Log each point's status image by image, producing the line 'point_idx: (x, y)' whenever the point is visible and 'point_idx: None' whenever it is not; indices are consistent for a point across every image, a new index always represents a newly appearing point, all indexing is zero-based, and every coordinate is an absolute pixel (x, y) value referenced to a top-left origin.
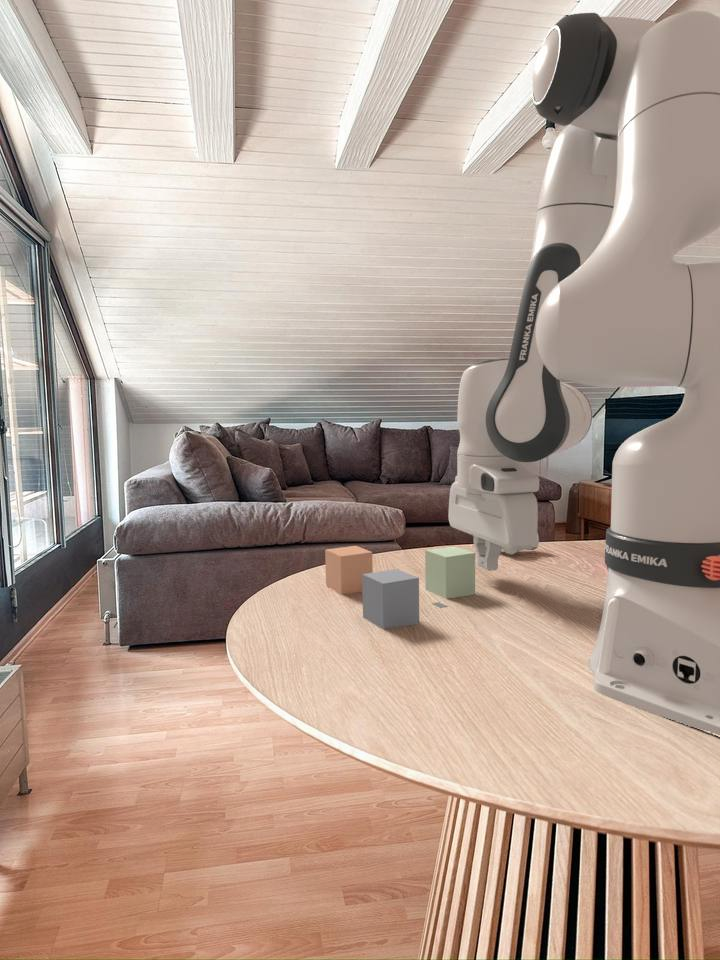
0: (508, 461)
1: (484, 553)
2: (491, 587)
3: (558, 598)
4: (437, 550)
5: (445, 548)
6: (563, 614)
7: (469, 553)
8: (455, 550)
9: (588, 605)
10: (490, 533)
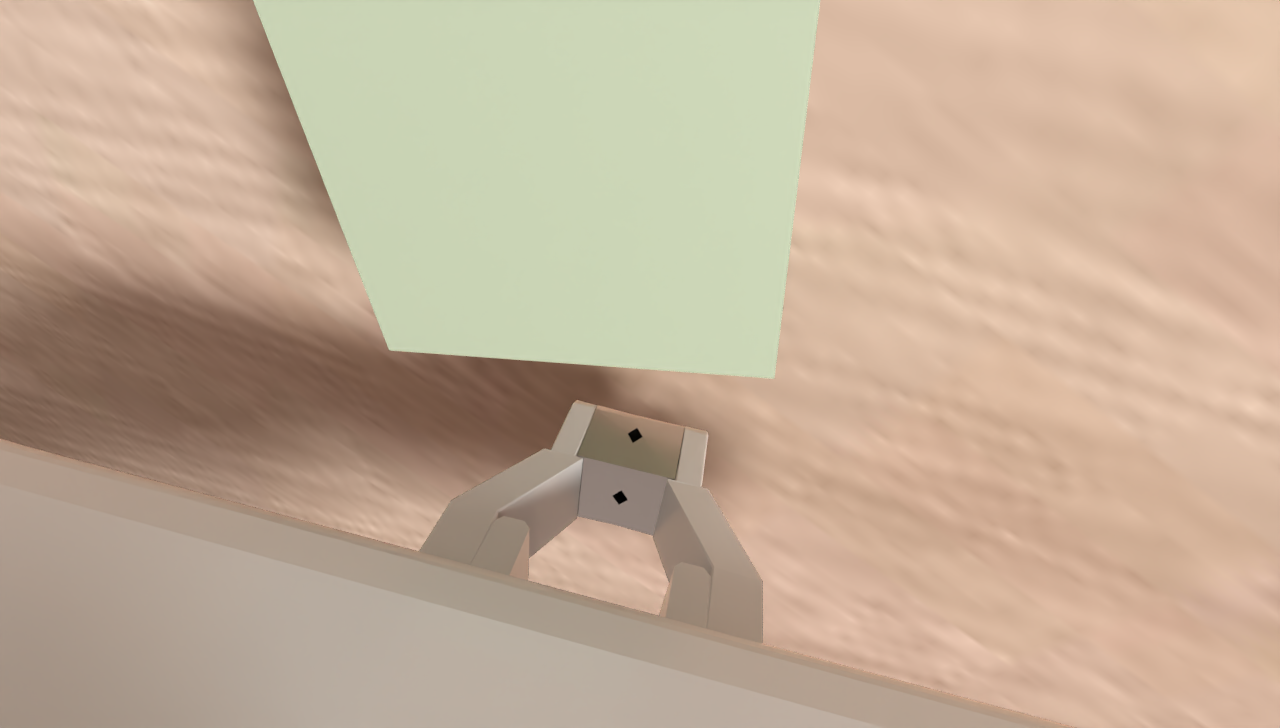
0: None
1: (662, 517)
2: None
3: (382, 447)
4: (688, 3)
5: (734, 216)
6: (187, 328)
7: (370, 286)
8: (561, 253)
9: (290, 456)
10: (202, 599)
